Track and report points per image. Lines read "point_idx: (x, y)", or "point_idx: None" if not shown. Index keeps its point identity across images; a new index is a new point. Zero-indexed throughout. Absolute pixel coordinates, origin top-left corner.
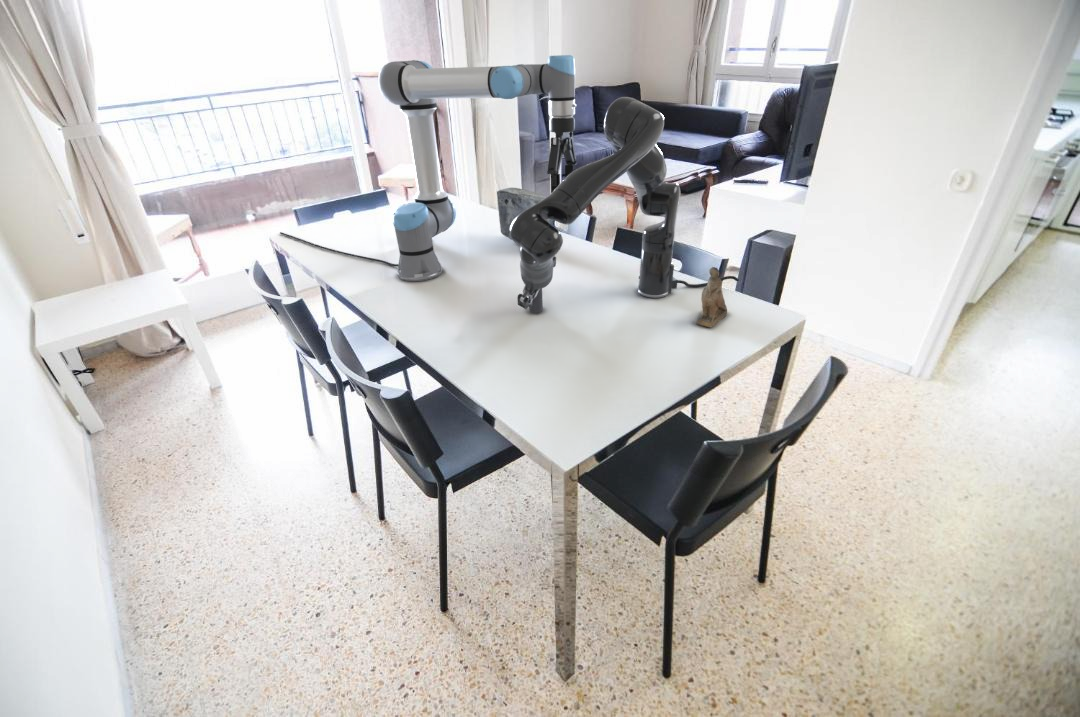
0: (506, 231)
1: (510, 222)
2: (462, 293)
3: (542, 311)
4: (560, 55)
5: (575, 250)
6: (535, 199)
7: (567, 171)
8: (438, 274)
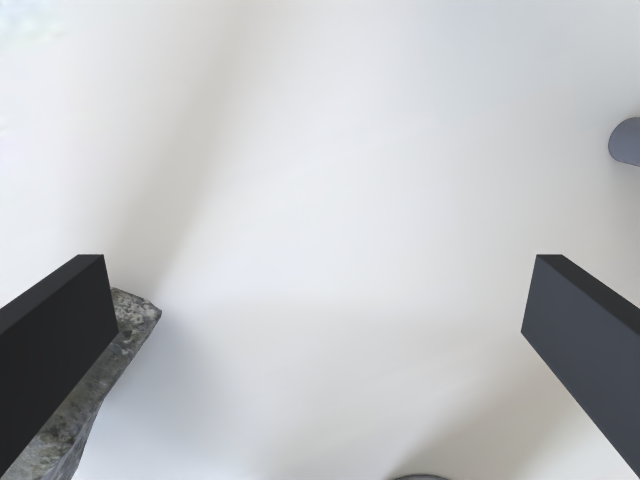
0: (77, 456)
1: (59, 471)
2: (524, 378)
3: (637, 117)
4: None
5: (68, 189)
6: (31, 469)
7: (8, 426)
8: (424, 477)
